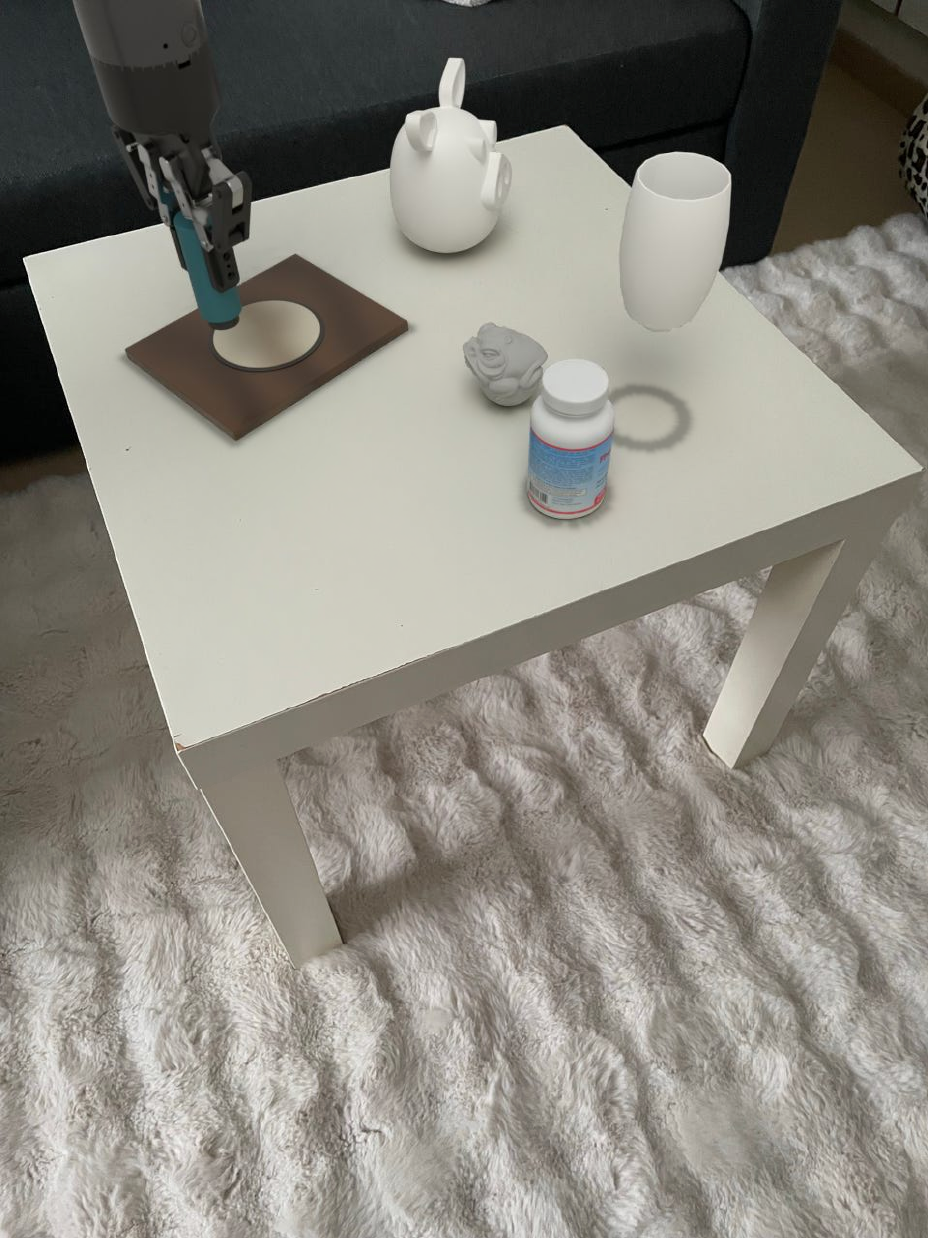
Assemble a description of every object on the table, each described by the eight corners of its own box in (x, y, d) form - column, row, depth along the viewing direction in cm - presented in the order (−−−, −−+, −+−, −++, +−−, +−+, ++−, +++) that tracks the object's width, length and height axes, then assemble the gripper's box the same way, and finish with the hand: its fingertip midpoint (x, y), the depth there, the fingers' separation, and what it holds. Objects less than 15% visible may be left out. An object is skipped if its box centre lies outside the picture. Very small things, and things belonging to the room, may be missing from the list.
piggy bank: (512, 275, 89) (515, 117, 77) (391, 277, 89) (376, 120, 77) (509, 205, 96) (512, 50, 84) (398, 207, 97) (384, 53, 85)
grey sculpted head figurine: (461, 378, 80) (459, 310, 75) (540, 372, 81) (544, 303, 75) (467, 426, 77) (465, 358, 71) (550, 419, 77) (555, 351, 71)
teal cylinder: (219, 339, 74) (191, 234, 67) (194, 321, 75) (164, 217, 68) (253, 320, 75) (228, 216, 68) (227, 303, 77) (201, 199, 70)
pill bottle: (613, 516, 71) (631, 403, 62) (535, 527, 70) (541, 414, 61) (593, 461, 74) (608, 346, 65) (519, 471, 74) (523, 357, 65)
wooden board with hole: (235, 441, 77) (232, 430, 76) (127, 357, 83) (123, 346, 82) (408, 329, 85) (407, 318, 84) (297, 261, 91) (295, 250, 90)
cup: (626, 458, 74) (666, 216, 57) (582, 404, 78) (607, 163, 61) (702, 430, 76) (762, 188, 59) (655, 378, 80) (699, 137, 63)
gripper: (34, 22, 60) (120, 262, 73) (162, 89, 54) (229, 337, 68) (132, -13, 63) (196, 224, 77) (263, 46, 57) (306, 291, 71)
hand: (211, 275), depth 72 cm, fingers closed on teal cylinder, 3 cm apart
